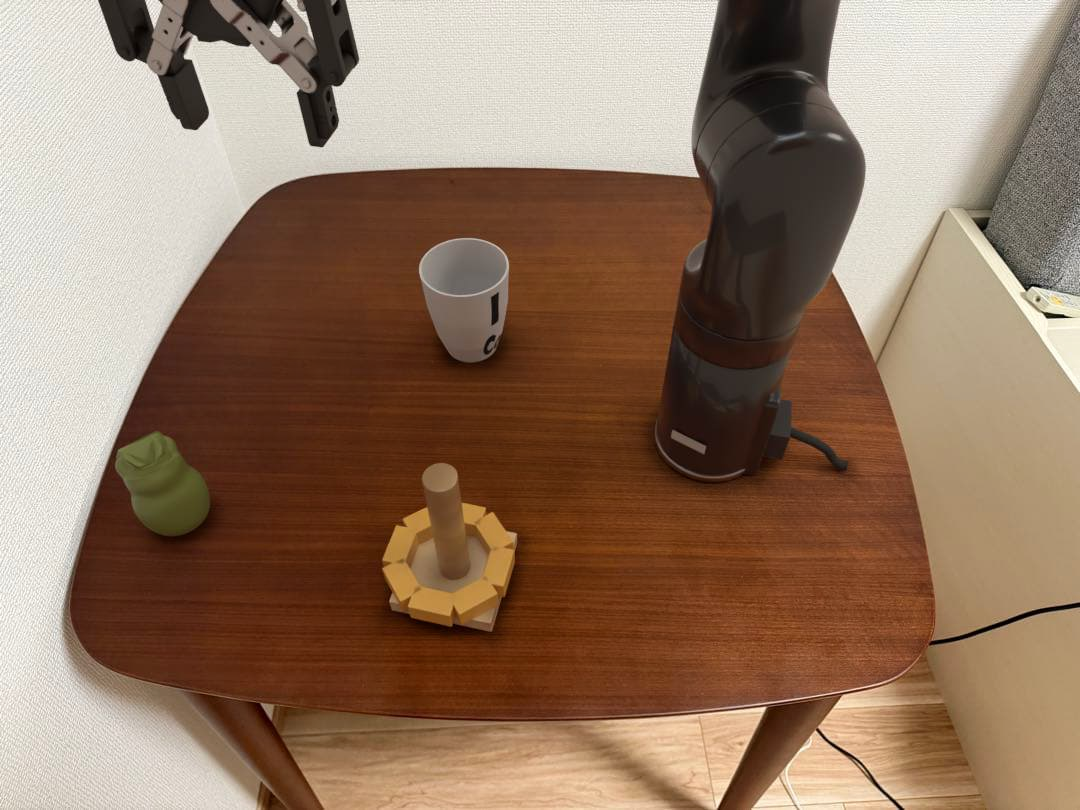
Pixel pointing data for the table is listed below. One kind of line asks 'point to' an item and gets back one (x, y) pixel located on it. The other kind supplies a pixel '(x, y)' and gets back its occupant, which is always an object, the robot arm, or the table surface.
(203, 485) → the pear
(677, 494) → the table surface
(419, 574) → the stand
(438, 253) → the cup
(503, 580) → the ring
